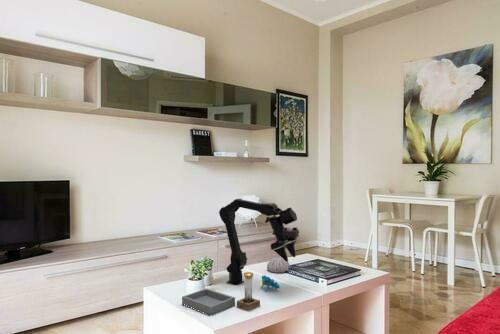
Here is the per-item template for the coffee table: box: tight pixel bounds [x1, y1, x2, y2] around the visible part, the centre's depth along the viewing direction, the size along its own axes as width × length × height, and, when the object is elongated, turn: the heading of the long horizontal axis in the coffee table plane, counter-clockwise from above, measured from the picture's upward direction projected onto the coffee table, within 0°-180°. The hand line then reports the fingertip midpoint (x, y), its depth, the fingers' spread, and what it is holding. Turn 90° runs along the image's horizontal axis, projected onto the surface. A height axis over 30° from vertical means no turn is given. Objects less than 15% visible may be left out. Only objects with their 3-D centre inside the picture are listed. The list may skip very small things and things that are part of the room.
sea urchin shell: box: [266, 255, 291, 274], centre depth 204 cm, size 13×14×8 cm
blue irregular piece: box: [260, 274, 281, 292], centre depth 171 cm, size 11×6×10 cm
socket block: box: [236, 297, 261, 312], centre depth 150 cm, size 7×7×2 cm
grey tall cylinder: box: [243, 271, 254, 303], centre depth 150 cm, size 4×4×14 cm
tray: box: [181, 288, 236, 316], centre depth 152 cm, size 18×14×4 cm
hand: (290, 259), depth 168 cm, fingers open, 9 cm apart
